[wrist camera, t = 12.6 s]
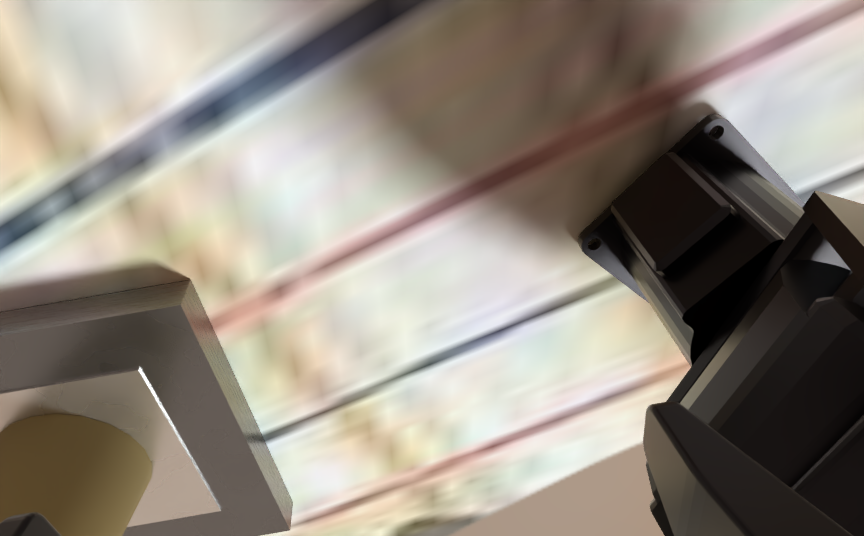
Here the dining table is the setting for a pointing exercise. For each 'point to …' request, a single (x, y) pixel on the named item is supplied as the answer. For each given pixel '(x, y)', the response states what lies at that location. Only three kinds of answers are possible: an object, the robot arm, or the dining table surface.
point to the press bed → (150, 404)
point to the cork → (72, 473)
